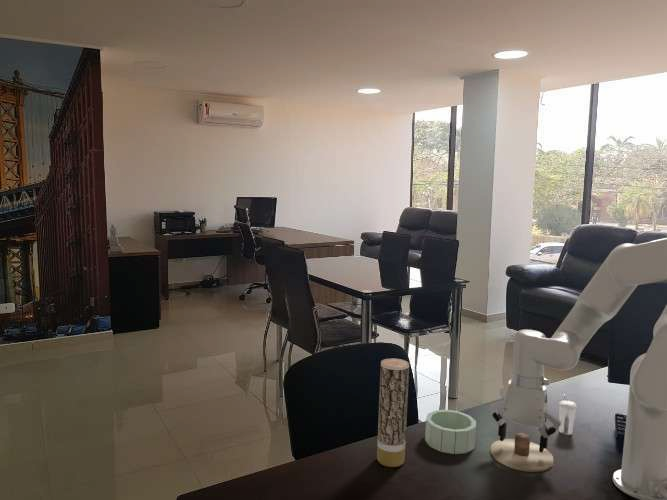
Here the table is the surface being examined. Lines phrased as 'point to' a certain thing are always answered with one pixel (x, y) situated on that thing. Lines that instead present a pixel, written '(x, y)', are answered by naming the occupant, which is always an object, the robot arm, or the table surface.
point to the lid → (521, 454)
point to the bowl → (450, 431)
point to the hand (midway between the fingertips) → (521, 444)
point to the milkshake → (566, 416)
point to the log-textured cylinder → (392, 412)
